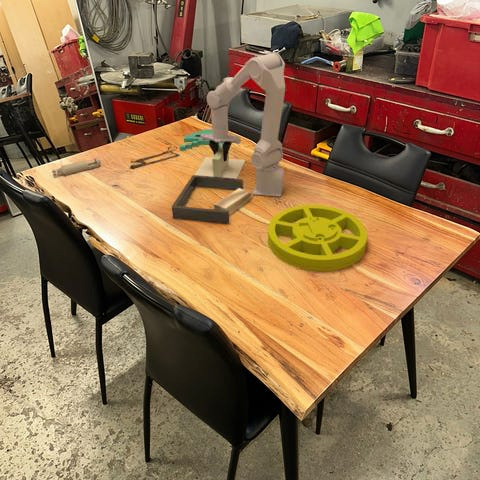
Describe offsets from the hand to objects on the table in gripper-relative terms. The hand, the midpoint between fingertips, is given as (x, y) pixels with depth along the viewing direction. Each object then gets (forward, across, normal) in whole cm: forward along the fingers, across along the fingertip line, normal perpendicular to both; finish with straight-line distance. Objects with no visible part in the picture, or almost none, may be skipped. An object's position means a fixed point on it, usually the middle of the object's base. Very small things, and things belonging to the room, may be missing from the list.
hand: (221, 159), depth 161 cm
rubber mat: (+4, -1, 0) cm, 5 cm away
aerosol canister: (+5, -54, -12) cm, 55 cm away
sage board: (+3, 0, 0) cm, 3 cm away
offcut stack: (+5, +11, -24) cm, 27 cm away
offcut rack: (+4, +3, -24) cm, 24 cm away
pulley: (+5, +40, -38) cm, 55 cm away
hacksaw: (+5, -30, +6) cm, 31 cm away
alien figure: (+5, -14, +25) cm, 29 cm away
